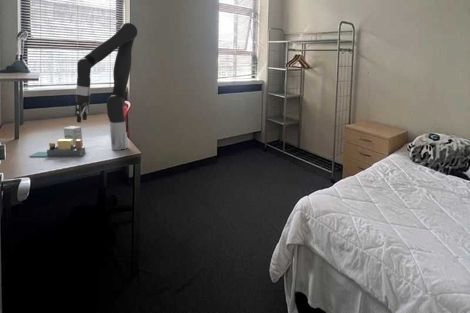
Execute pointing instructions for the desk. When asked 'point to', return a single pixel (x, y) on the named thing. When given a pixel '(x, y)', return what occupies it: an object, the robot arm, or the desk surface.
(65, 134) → the supplement box
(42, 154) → the mat
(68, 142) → the tan rectangular block
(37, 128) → the desk surface
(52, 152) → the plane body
